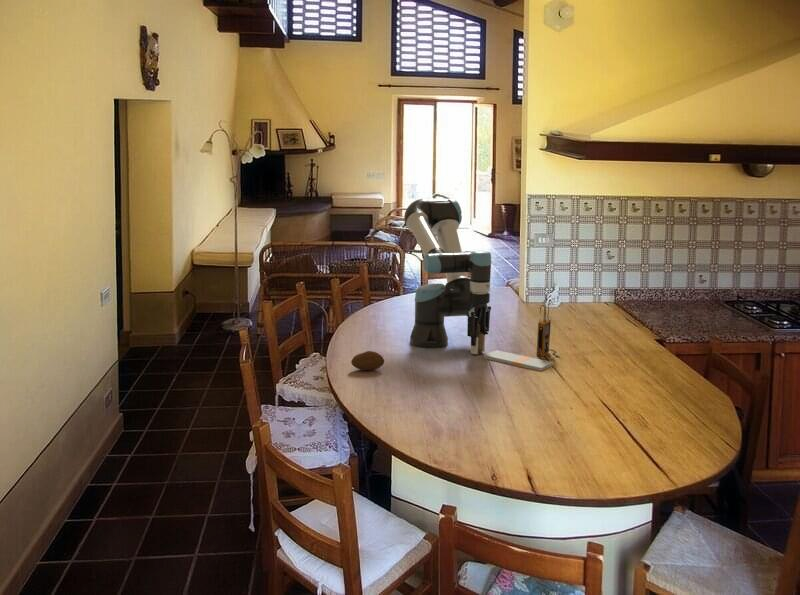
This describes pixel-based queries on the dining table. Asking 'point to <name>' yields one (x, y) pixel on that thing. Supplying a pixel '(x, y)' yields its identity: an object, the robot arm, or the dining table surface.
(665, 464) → the dining table surface
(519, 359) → the panel
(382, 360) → the potato
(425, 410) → the dining table surface
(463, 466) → the dining table surface
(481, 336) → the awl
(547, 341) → the multimeter
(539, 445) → the dining table surface
